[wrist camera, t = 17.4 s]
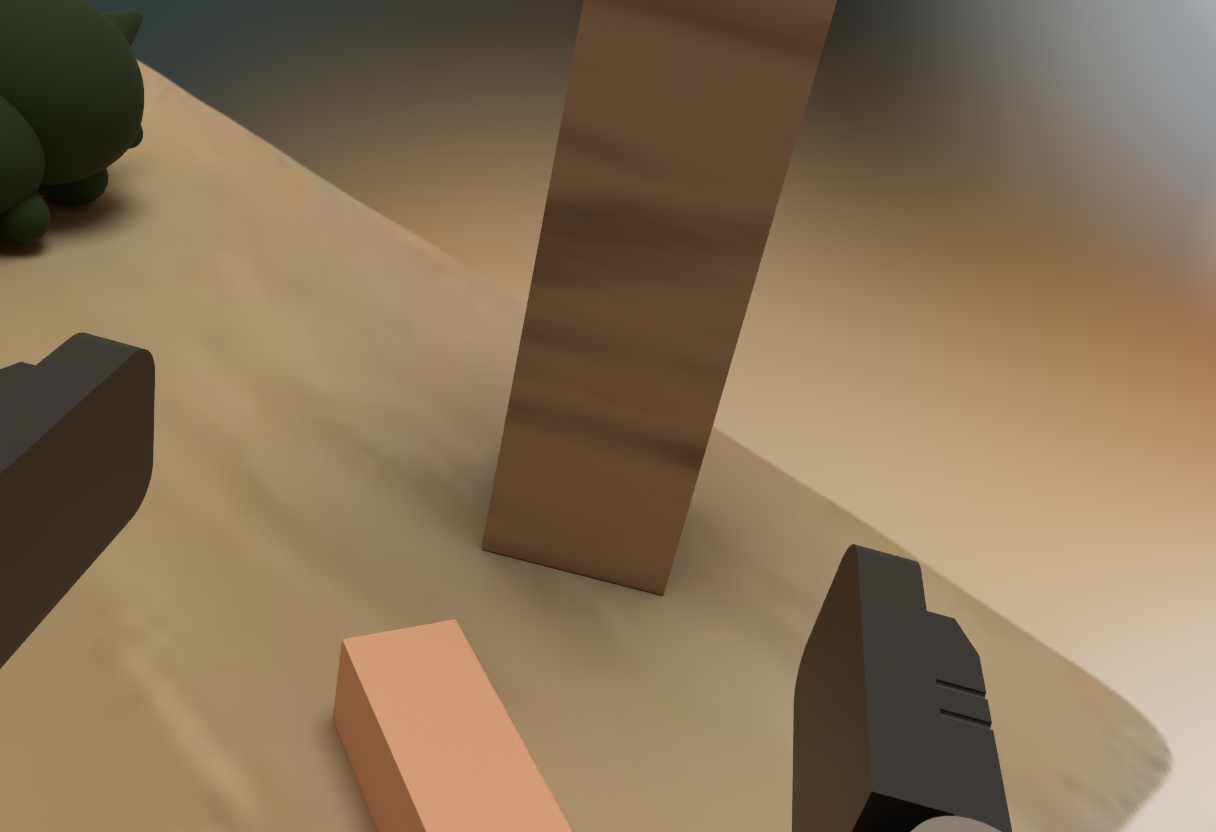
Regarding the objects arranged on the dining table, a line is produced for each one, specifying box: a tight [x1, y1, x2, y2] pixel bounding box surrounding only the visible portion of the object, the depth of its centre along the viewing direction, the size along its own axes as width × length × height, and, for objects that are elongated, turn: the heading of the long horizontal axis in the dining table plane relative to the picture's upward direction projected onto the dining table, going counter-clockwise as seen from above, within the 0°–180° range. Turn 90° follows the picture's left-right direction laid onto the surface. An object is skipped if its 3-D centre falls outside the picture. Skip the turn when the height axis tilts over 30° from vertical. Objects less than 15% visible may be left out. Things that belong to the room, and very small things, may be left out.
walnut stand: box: [482, 0, 837, 595], centre depth 37 cm, size 9×10×37 cm
